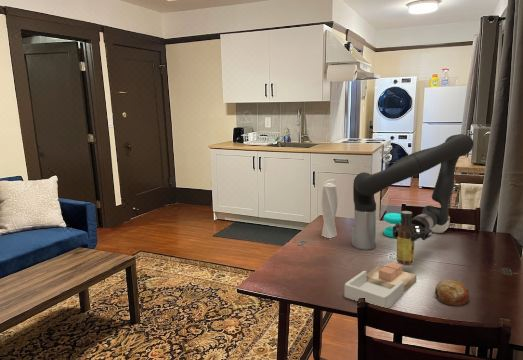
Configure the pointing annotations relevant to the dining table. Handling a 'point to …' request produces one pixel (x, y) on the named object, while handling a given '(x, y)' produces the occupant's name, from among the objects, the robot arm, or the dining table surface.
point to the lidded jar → (441, 227)
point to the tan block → (395, 267)
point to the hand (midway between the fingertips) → (403, 236)
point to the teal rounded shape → (392, 219)
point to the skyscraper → (329, 209)
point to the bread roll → (451, 292)
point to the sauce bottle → (405, 239)
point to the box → (372, 291)
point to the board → (404, 277)
